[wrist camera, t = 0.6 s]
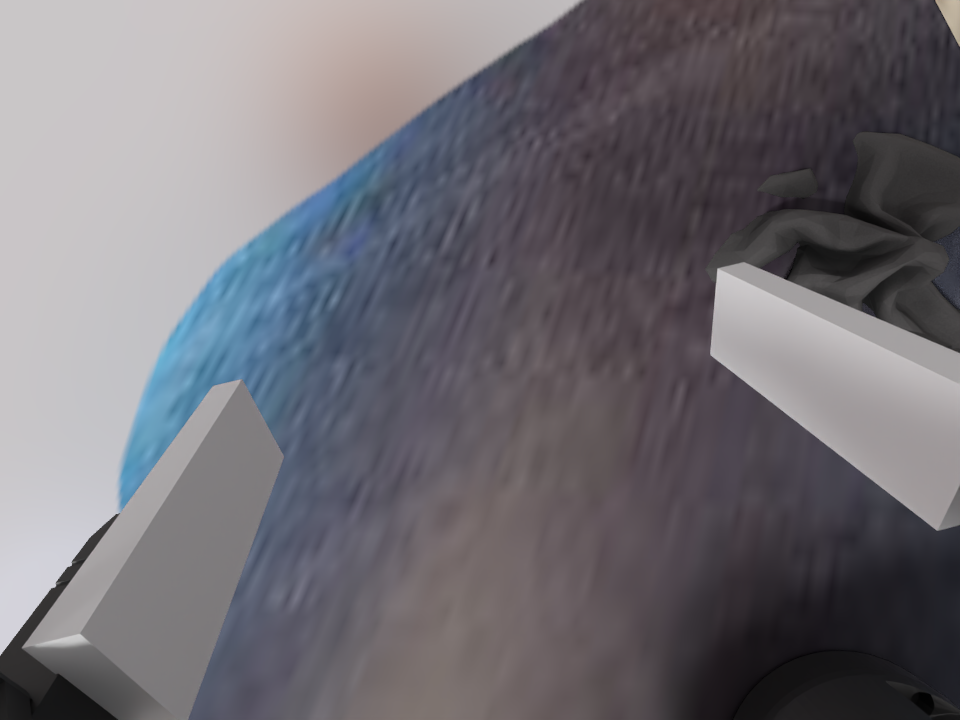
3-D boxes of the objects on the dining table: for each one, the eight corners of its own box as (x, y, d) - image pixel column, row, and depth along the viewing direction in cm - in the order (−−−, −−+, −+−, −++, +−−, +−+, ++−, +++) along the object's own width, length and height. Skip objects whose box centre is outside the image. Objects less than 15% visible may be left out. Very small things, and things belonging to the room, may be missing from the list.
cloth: (955, 113, 31) (1071, 44, 24) (1024, 378, 29) (1165, 376, 23) (634, 172, 31) (670, 119, 25) (689, 436, 30) (740, 449, 24)
